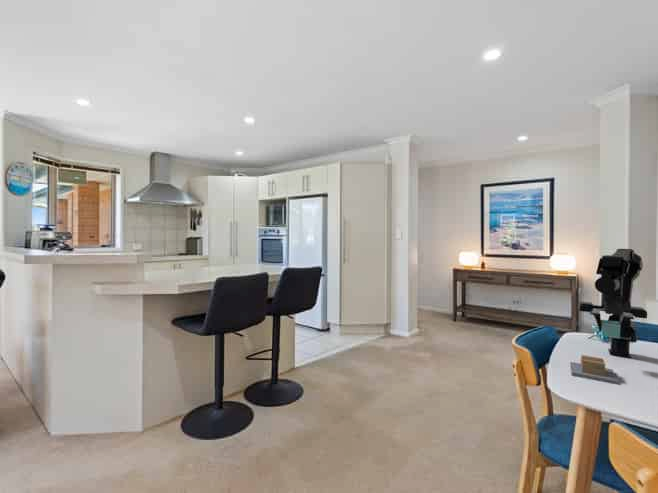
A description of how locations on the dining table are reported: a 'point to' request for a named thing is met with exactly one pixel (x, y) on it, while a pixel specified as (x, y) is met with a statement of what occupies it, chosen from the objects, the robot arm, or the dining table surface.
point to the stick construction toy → (598, 334)
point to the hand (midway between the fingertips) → (609, 332)
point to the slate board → (578, 372)
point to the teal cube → (610, 329)
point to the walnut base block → (592, 365)
